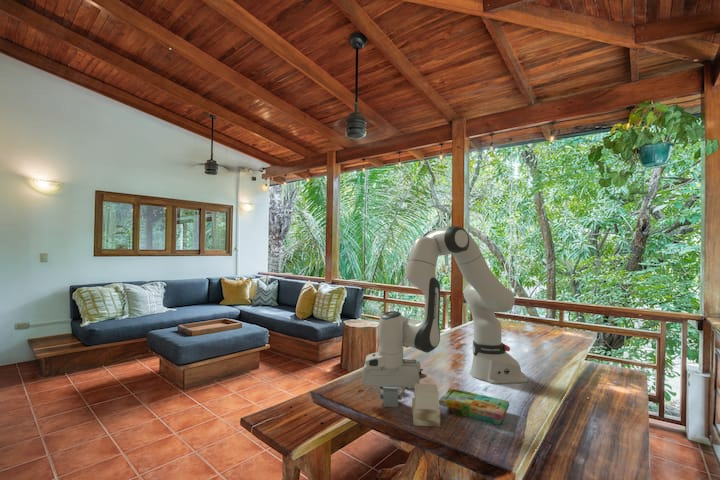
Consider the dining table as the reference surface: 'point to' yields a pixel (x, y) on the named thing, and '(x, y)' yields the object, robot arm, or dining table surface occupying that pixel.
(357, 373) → the dining table surface
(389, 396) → the grey cube
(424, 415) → the birch slab
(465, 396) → the puzzle game
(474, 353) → the robot arm
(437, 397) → the white block
